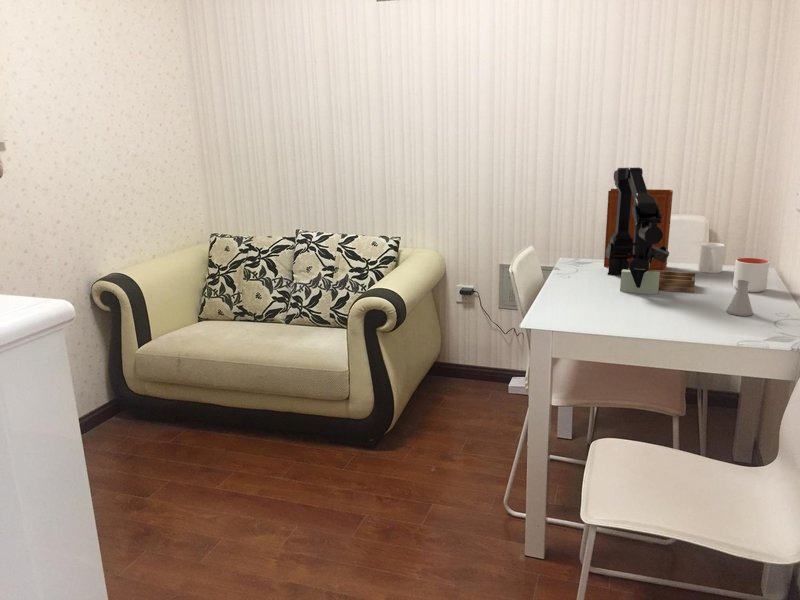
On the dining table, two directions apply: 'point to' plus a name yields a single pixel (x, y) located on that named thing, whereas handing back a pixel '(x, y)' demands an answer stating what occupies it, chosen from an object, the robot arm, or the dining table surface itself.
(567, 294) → the dining table surface
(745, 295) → the flask
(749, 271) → the cup
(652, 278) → the pale green box
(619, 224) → the robot arm
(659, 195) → the book
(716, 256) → the mug
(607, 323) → the dining table surface
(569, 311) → the dining table surface
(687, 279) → the box
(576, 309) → the dining table surface
